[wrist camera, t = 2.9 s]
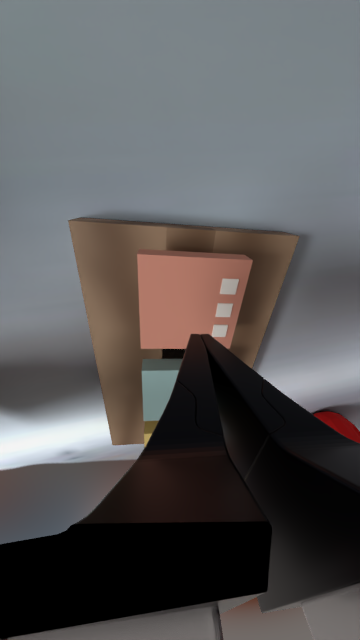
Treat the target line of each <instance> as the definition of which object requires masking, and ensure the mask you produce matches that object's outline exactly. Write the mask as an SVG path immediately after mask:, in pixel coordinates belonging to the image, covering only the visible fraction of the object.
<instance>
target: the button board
mask: <svg viewBox="0 0 360 640" xmlns="http://www.w3.org/2000/svg"><path fill="white" fill-rule="evenodd" d="M68 222H69V227H70V232H71V237H72V242H73V247H74V252H75V257H76V262H77V267H78V272H79V277H80V282H81V288H82V293H83V298H84V303H85V308H86V313H87V318H88V323H89V328H90V333H91V338H92V343H93V348H94V353H95V358H96V363H97V369H98V374H99V379H100V384H101V389H102V394H103V399H104V404H105V409H106V414H107V419H108V424H109V429H110V434H111V439H112V444H113V445H127V444H144V427H145V421H144V419H143V393H142V362H143V359H162V349H141V341H140V315H139V289H138V263H137V253H138V251H139V249H150V250H168V251H186V252H204V253H221V254H239V255H246V256H247V257H249V258H250V259H252V260H253V262H252V266H251V270H250V273H249V277H248V281H247V285H246V289H245V292H244V296H243V300H242V304H241V308H240V312H239V315H238V319H237V323H236V327H235V331H234V335H233V338H232V342H231V346H230V349H228V350H229V351H231V352H232V353H233V354H234V355H236V356H237V357H238V358H239V359H241V360H242V361H243V362H244V363H245V364H247V365H248V366H249V367H250V368H252V367H253V364H254V361H255V359H256V356H257V353H258V350H259V347H260V345H261V342H262V339H263V336H264V334H265V331H266V328H267V325H268V322H269V320H270V317H271V314H272V311H273V309H274V306H275V303H276V300H277V297H278V295H279V292H280V289H281V286H282V284H283V281H284V278H285V275H286V272H287V270H288V267H289V264H290V261H291V259H292V256H293V253H294V250H295V247H296V245H297V242H298V239H299V236H296V235H292V234H289V233H285V232H277V231H263V230H249V229H235V228H221V227H206V226H192V225H178V224H164V223H150V222H136V221H122V220H108V219H94V218H76V219H72V220H68ZM157 421H159V420H157Z"/></svg>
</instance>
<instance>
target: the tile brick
mask: <svg viewBox="0 0 360 640" xmlns="http://www.w3.org/2000/svg"><path fill="white" fill-rule="evenodd" d="M252 262H253V260H252V259H250V258H249V257H247V256H246V255H239V254H221V253H204V252H186V251H168V250H150V249H139V251H138V253H137V263H138V289H139V315H140V341H141V349H186V347H187V344H188V341H189V338H190V335H191V334H210V335H211V336H212V337H213V338H215V339H216V340H217V341H218V342H220V343H221V344H222V345H223V346H224V347H226V348H227V349H230V346H231V342H232V338H233V335H234V331H235V327H236V323H237V319H238V315H239V312H240V308H241V304H242V300H243V296H244V292H245V289H246V285H247V281H248V277H249V273H250V270H251V266H252Z"/></svg>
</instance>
